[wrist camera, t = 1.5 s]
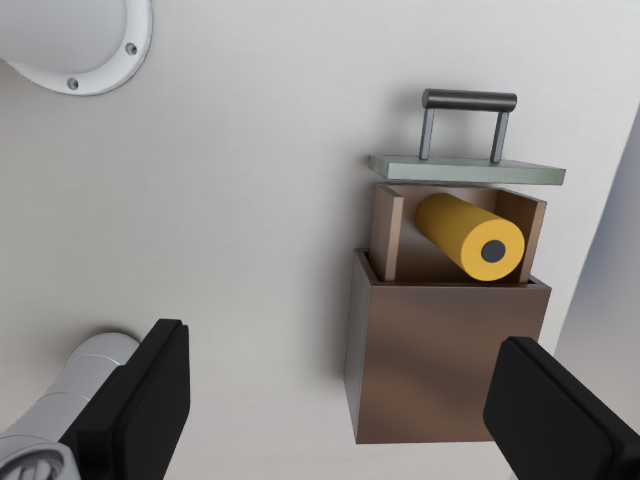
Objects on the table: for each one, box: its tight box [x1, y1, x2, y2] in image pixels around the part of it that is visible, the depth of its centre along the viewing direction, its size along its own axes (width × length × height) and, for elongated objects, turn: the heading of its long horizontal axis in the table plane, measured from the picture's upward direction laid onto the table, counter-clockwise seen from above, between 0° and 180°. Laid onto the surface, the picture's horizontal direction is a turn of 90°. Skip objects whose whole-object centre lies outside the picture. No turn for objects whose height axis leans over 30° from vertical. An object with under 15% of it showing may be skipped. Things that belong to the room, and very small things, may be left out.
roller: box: [416, 193, 524, 281], centre depth 29 cm, size 4×4×10 cm
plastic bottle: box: [0, 332, 139, 460], centre depth 28 cm, size 6×7×20 cm
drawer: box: [368, 89, 566, 284], centre depth 31 cm, size 20×13×7 cm
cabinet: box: [344, 249, 552, 444], centre depth 35 cm, size 16×15×9 cm
